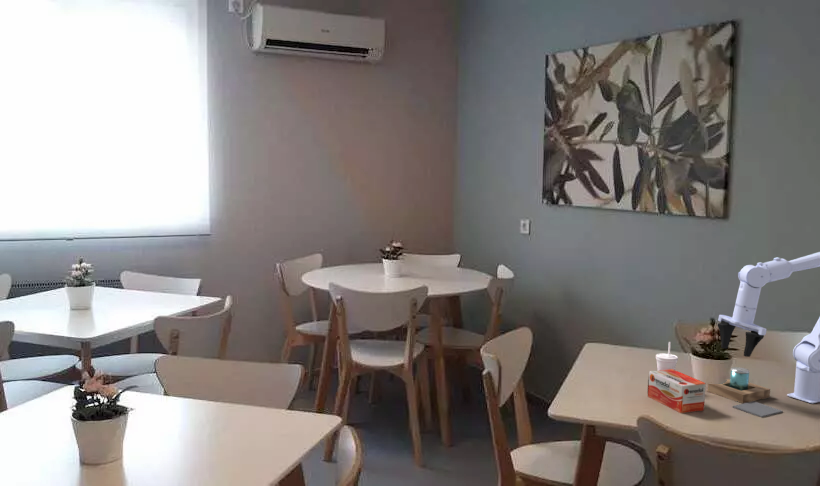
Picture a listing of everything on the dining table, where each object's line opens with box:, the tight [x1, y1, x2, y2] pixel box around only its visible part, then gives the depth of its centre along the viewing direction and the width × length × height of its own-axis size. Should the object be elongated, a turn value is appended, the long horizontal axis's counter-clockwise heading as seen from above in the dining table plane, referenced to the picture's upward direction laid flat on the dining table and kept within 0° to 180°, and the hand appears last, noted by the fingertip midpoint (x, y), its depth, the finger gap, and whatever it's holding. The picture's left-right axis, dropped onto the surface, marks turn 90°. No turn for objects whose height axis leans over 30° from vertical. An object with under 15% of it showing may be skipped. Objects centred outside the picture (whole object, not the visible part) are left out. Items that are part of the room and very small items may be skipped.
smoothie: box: [655, 341, 679, 371], centre depth 227 cm, size 6×6×14 cm
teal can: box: [729, 366, 750, 391], centre depth 222 cm, size 5×5×8 cm
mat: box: [732, 401, 784, 418], centre depth 209 cm, size 9×9×1 cm
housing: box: [707, 378, 771, 404], centre depth 222 cm, size 12×12×2 cm
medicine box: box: [647, 369, 707, 414], centre depth 213 cm, size 15×8×8 cm, turn 19°
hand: (735, 352), depth 219 cm, fingers open, 7 cm apart
